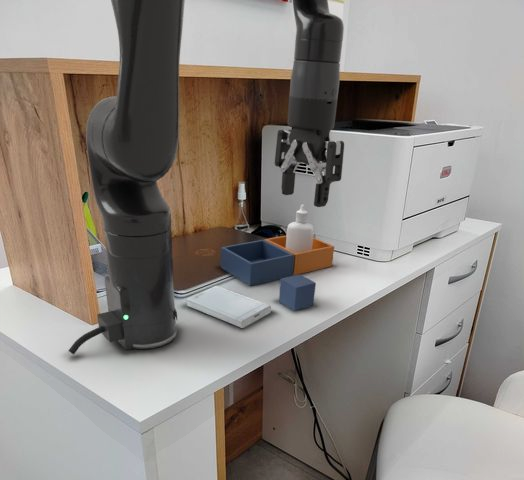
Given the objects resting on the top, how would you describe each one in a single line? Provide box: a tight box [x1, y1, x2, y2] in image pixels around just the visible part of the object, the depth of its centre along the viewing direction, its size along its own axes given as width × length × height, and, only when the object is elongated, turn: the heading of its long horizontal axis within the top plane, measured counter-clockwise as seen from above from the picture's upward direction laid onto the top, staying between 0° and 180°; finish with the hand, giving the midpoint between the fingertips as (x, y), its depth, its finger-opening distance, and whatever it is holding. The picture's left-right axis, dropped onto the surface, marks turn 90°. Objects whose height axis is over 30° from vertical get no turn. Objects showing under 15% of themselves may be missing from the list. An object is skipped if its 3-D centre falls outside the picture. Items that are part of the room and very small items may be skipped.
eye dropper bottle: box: [286, 204, 315, 253], centre depth 105 cm, size 4×6×12 cm
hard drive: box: [186, 285, 272, 329], centre depth 86 cm, size 2×8×12 cm
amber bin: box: [264, 234, 335, 276], centre depth 107 cm, size 11×11×4 cm
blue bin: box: [220, 239, 294, 287], centre depth 101 cm, size 11×11×4 cm
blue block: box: [278, 274, 317, 312], centre depth 89 cm, size 4×4×4 cm
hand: (303, 200), depth 85 cm, fingers open, 8 cm apart
